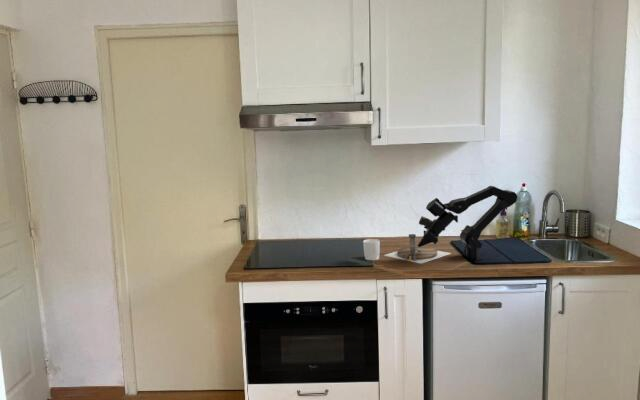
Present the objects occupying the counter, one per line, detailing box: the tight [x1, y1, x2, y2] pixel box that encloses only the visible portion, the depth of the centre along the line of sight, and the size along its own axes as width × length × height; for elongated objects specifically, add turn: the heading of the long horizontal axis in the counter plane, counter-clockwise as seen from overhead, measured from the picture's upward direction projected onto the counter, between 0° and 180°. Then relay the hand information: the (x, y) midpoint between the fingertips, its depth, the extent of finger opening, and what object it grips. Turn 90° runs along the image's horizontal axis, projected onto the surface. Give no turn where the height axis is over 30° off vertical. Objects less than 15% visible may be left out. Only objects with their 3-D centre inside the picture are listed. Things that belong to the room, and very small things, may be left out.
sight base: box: [383, 250, 452, 265], centre depth 243 cm, size 23×23×4 cm
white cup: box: [362, 238, 381, 261], centre depth 240 cm, size 8×8×10 cm
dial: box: [397, 233, 438, 259], centre depth 243 cm, size 19×19×11 cm
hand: (418, 246), depth 235 cm, fingers closed
